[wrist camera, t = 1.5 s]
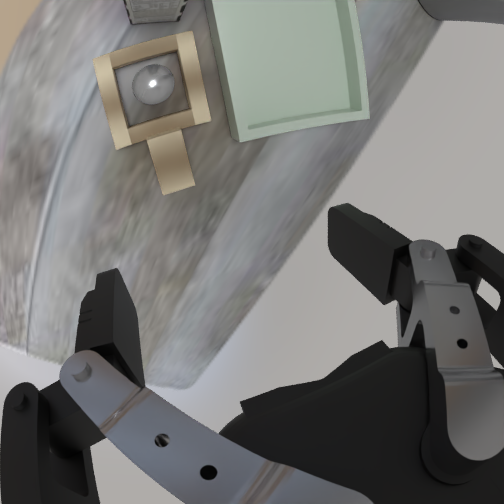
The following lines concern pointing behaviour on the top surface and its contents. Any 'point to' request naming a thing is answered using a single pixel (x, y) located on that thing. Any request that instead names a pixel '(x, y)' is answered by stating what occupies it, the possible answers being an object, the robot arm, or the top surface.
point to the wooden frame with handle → (165, 127)
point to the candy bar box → (154, 10)
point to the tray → (288, 64)
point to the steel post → (153, 84)
